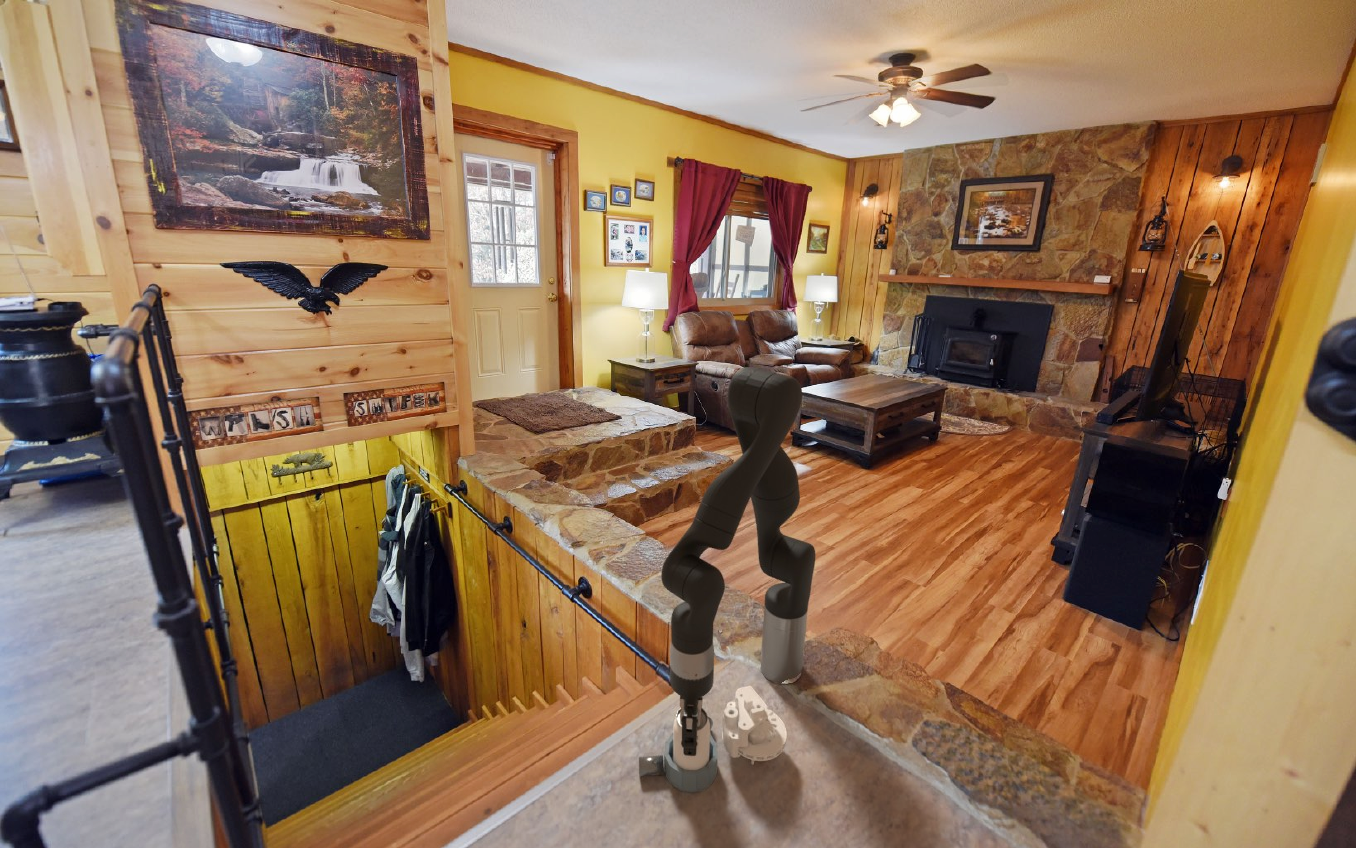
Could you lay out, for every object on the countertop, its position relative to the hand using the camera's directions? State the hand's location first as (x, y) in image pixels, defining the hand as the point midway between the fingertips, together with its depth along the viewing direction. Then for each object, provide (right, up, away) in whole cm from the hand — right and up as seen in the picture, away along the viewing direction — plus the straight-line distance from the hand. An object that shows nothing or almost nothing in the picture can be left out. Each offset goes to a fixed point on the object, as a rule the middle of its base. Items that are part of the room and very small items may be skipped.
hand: (691, 732), depth 100 cm
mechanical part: (+12, -7, +6) cm, 15 cm away
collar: (0, -8, +3) cm, 8 cm away
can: (0, -8, +2) cm, 8 cm away
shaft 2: (+2, -6, +9) cm, 11 cm away
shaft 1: (-7, -8, +2) cm, 11 cm away
